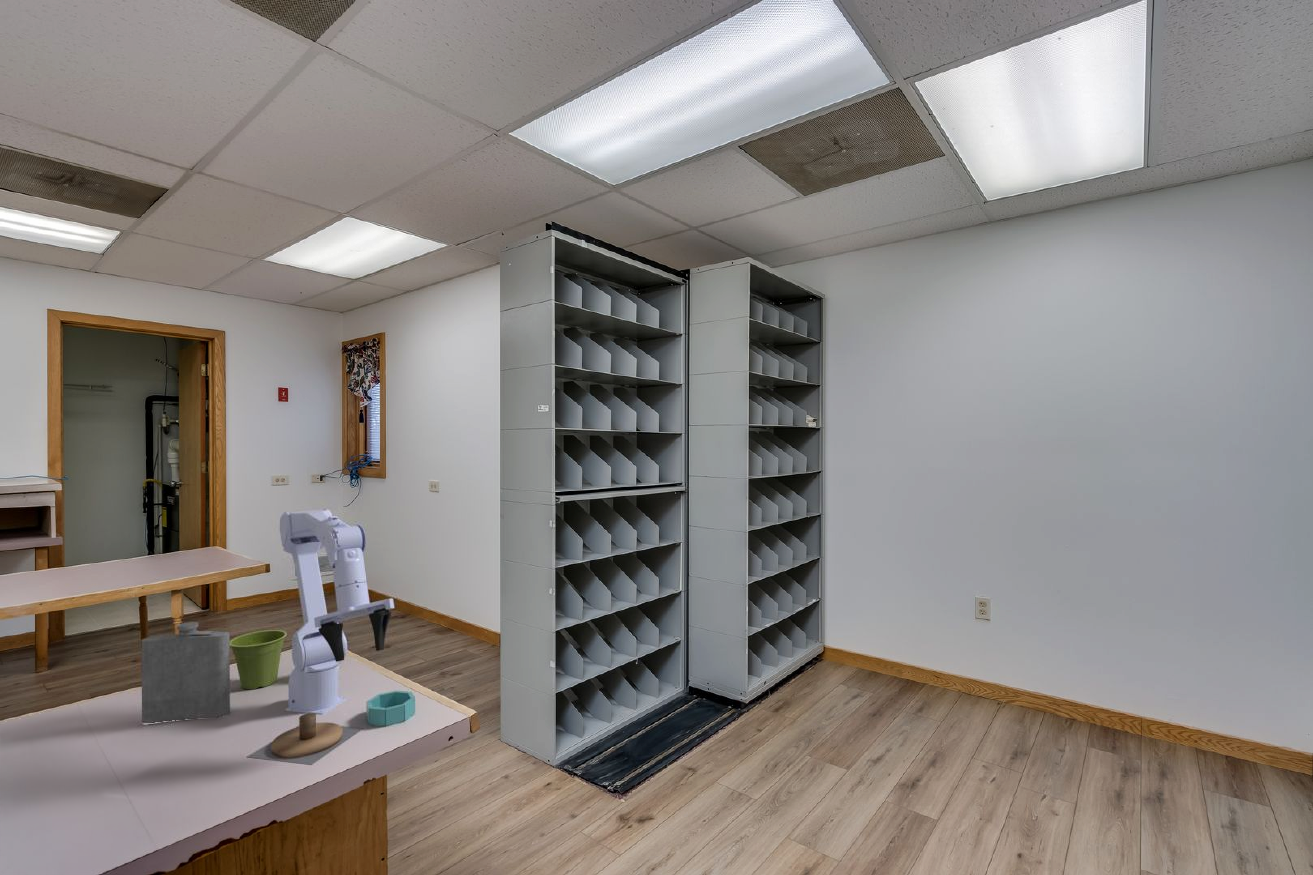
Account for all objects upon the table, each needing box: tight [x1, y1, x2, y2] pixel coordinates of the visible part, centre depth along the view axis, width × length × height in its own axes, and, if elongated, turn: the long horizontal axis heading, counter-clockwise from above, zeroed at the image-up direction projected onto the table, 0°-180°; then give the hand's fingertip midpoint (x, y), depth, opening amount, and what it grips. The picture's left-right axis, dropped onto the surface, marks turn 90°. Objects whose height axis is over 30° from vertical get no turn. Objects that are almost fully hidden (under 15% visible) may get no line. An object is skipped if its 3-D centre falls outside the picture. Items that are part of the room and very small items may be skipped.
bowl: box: [365, 690, 416, 727], centre depth 129 cm, size 9×9×4 cm
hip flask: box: [140, 621, 231, 724], centre depth 130 cm, size 16×4×20 cm, turn 104°
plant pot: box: [230, 629, 288, 690], centre depth 148 cm, size 12×12×11 cm
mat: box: [246, 725, 364, 766], centre depth 118 cm, size 14×14×1 cm
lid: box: [271, 713, 342, 758], centre depth 118 cm, size 12×12×5 cm
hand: (360, 655), depth 118 cm, fingers open, 7 cm apart
